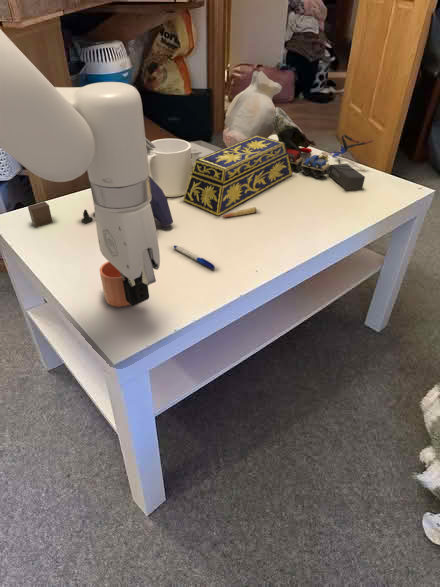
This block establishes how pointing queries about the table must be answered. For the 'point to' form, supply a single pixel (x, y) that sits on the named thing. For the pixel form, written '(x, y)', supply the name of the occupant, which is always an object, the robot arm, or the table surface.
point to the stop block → (40, 214)
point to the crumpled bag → (251, 111)
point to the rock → (289, 131)
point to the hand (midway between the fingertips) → (137, 299)
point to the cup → (113, 285)
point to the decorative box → (237, 173)
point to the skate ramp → (201, 150)
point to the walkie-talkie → (346, 176)
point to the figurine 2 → (343, 150)
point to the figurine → (160, 205)
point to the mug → (170, 165)
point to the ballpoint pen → (195, 257)
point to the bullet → (241, 212)
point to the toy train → (308, 163)
